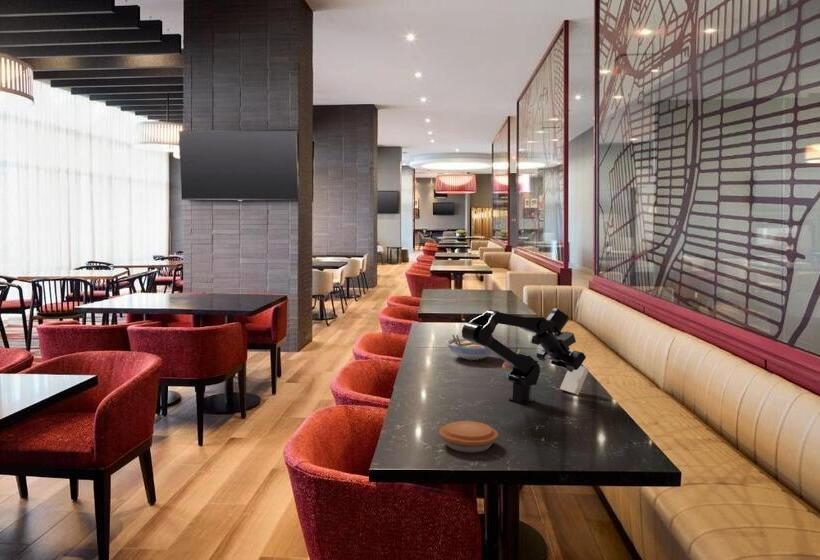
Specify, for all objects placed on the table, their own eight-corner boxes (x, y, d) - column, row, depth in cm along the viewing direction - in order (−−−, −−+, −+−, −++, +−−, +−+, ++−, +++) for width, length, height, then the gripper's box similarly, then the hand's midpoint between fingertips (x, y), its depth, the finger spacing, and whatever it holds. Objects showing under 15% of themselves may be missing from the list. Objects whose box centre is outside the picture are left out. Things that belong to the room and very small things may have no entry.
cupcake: (525, 376, 238) (526, 346, 237) (523, 381, 230) (524, 350, 229) (503, 374, 241) (504, 344, 240) (500, 379, 232) (501, 348, 231)
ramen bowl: (501, 366, 256) (502, 346, 255) (446, 364, 256) (447, 345, 255) (494, 353, 280) (495, 336, 280) (444, 352, 281) (445, 334, 280)
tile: (574, 393, 212) (585, 367, 214) (559, 388, 218) (570, 362, 220) (578, 395, 213) (589, 369, 215) (563, 390, 219) (574, 365, 221)
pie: (492, 435, 170) (492, 417, 169) (502, 456, 154) (503, 437, 154) (436, 434, 169) (437, 417, 169) (441, 455, 154) (441, 436, 153)
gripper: (583, 329, 203) (604, 358, 210) (543, 321, 219) (565, 348, 226) (564, 354, 200) (587, 384, 206) (526, 344, 216) (548, 372, 222)
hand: (571, 371), depth 215 cm, fingers closed
